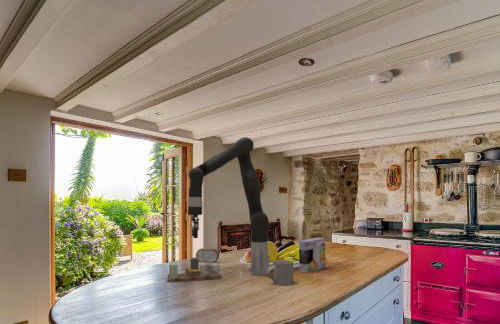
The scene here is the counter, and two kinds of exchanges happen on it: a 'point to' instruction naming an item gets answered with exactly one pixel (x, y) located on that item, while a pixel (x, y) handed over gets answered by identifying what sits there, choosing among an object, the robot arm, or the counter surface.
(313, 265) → the cake pan box
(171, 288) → the counter surface
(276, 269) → the coffee mug
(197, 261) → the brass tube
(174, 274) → the socket block
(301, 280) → the counter surface
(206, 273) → the stand
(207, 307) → the counter surface
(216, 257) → the tin
